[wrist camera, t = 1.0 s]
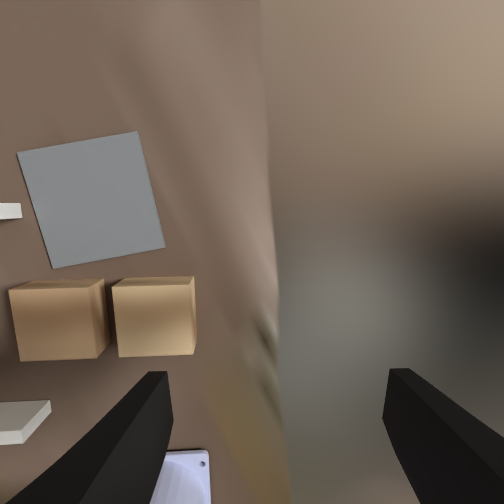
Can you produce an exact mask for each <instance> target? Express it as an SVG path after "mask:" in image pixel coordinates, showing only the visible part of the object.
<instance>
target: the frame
mask: <svg viewBox="0 0 504 504" xmlns="http://www.w3.org/2000/svg"><path fill="white" fill-rule="evenodd" d="M13 218H22V211H21V205H20V203H0V219H13ZM51 412H52V411H51V404H50V400H39V401H19V402H0V445H5V444H23V443H24V442H25V441H26V440H27V439H28V437H29V436H30V435H31V434H32V433H33V432H34V431H35V430H36V428H37V427H38V426H39V425H40V424H41V423H42V422H43V421H44V419H45V418H46V417H47V416H48V415H49V414H50V413H51Z"/></svg>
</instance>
